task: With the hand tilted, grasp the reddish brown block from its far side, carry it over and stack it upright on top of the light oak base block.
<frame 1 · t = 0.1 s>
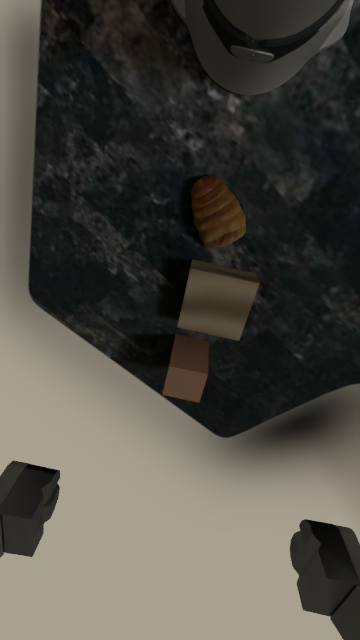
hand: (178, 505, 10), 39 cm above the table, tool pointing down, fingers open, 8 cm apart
reddish brown block: (188, 351, 55), on the table
pastry: (216, 215, 43), on the table
oak base block: (216, 295, 49), on the table
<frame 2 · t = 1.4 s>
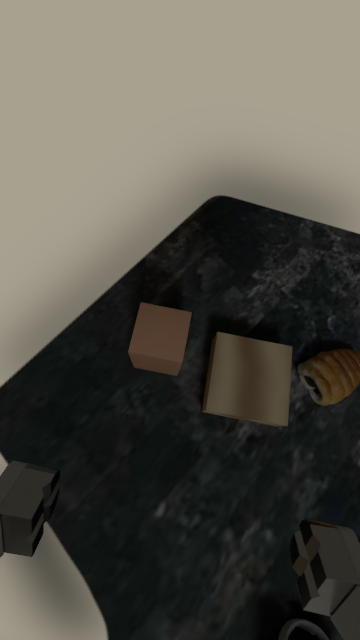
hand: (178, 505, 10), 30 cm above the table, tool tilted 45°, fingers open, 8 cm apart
reddish brown block: (160, 350, 42), on the table
pastry: (324, 375, 43), on the table
oak base block: (242, 381, 41), on the table
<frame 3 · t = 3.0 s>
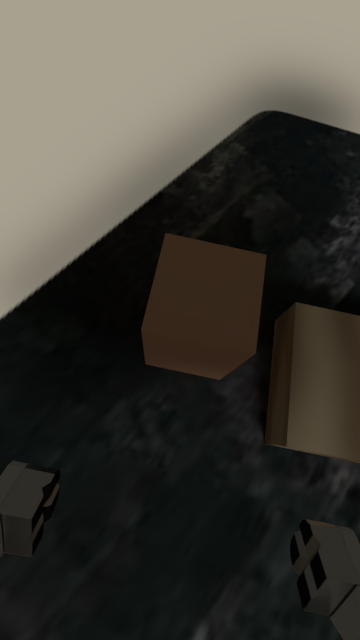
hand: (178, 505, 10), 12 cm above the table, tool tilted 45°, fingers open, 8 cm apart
reddish brown block: (189, 336, 25), on the table
oak base block: (330, 390, 24), on the table
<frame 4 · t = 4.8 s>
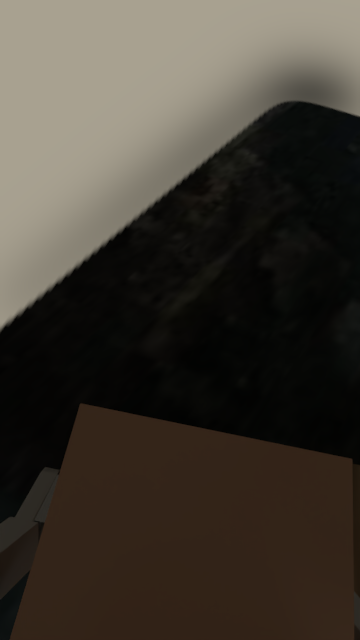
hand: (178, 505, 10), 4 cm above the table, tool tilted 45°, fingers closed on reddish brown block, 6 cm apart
reddish brown block: (168, 497, 14), on the table, touching gripper
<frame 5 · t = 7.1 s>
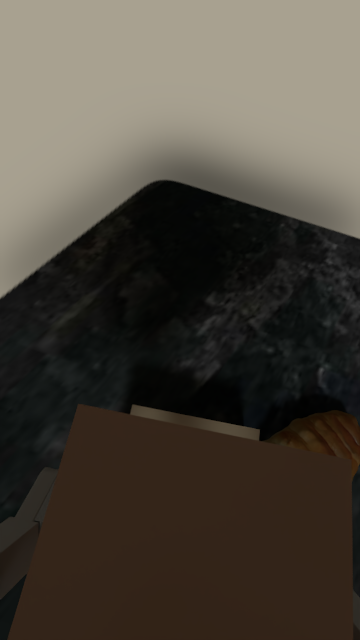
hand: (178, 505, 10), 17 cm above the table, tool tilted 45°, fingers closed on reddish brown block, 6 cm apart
reddish brown block: (168, 498, 14), point 12 cm above the table, touching gripper
pastry: (302, 454, 27), on the table
oak base block: (179, 480, 25), on the table
when the fingers open (9 cm above the table, at t = 9.3 s): reddish brown block stays where it is, resting on oak base block.
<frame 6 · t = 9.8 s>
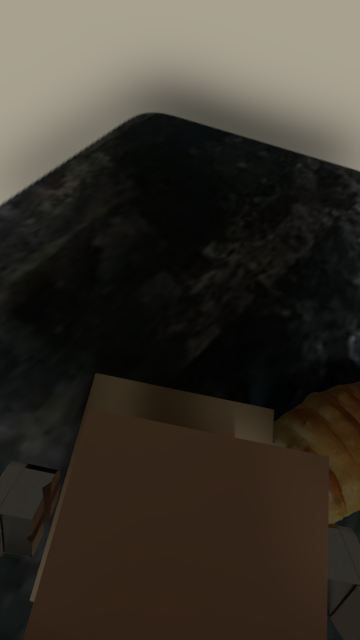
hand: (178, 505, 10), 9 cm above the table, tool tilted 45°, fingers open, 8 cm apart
reddish brown block: (167, 494, 15), point 4 cm above the table, touching oak base block
pastry: (322, 440, 21), on the table
oak base block: (164, 480, 19), on the table
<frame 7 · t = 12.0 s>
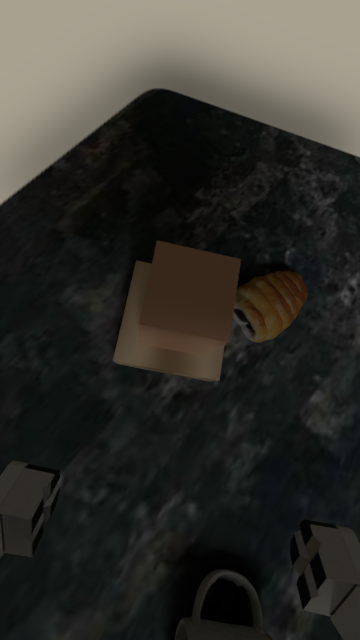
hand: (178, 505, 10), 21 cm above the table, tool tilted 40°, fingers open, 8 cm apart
ceramic mug: (214, 630, 28), on the table
reddish brown block: (177, 319, 29), point 4 cm above the table, touching oak base block
pastry: (260, 307, 35), on the table
oak base block: (172, 326, 33), on the table
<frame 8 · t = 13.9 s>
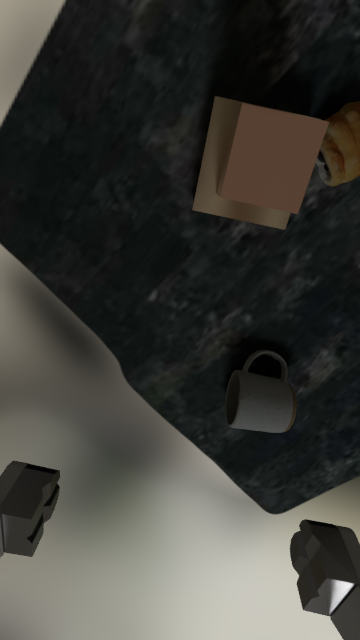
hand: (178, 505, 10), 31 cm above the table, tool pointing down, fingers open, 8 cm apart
ceramic mug: (255, 377, 45), on the table
reddish brown block: (253, 168, 30), point 4 cm above the table, touching oak base block
pastry: (346, 140, 32), on the table
oak base block: (247, 169, 33), on the table
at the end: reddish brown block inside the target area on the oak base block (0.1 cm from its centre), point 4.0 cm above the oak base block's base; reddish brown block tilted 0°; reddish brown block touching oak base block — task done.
